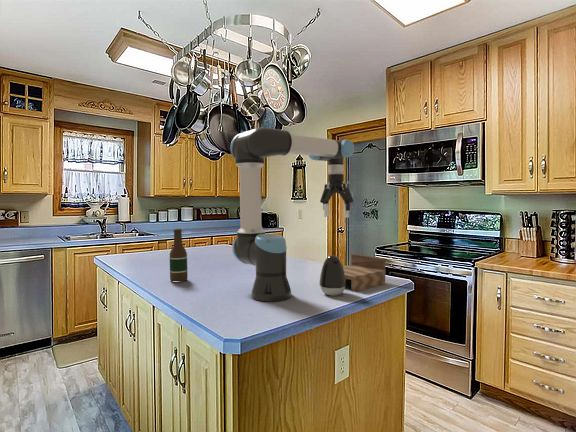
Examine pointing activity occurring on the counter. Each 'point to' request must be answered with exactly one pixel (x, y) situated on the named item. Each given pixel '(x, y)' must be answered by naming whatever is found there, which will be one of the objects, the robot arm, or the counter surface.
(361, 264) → the walnut shelf
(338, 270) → the dark grey egg shape
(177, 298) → the counter surface
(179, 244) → the beer bottle
